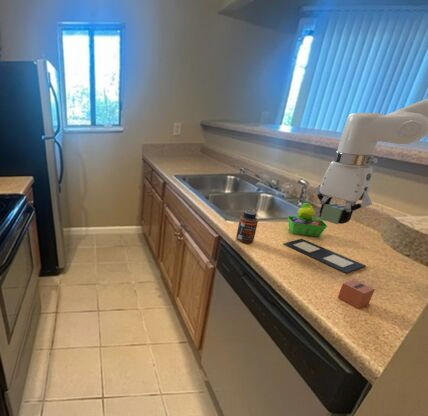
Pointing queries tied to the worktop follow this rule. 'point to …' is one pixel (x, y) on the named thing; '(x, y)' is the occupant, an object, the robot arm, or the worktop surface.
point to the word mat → (325, 255)
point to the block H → (332, 212)
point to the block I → (356, 293)
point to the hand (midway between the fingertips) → (333, 219)
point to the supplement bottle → (247, 227)
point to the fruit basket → (306, 222)
